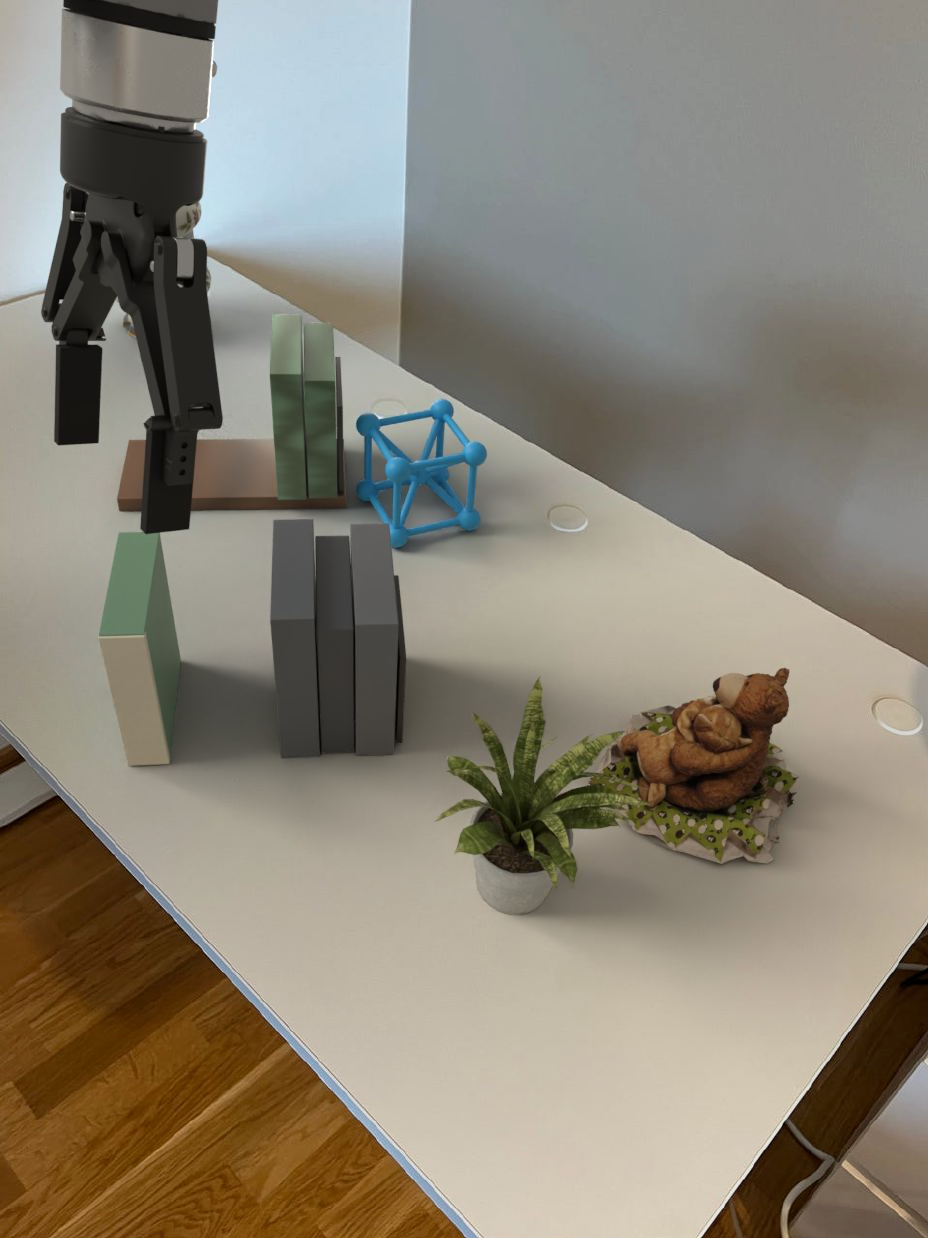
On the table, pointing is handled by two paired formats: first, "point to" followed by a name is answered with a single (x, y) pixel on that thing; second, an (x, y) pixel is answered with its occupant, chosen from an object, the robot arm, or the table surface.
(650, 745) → the bear figurine
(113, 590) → the green book
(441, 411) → the molecular structure
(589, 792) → the house plant
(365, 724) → the grey books
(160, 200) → the robot arm
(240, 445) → the book shelf
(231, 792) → the table surface
